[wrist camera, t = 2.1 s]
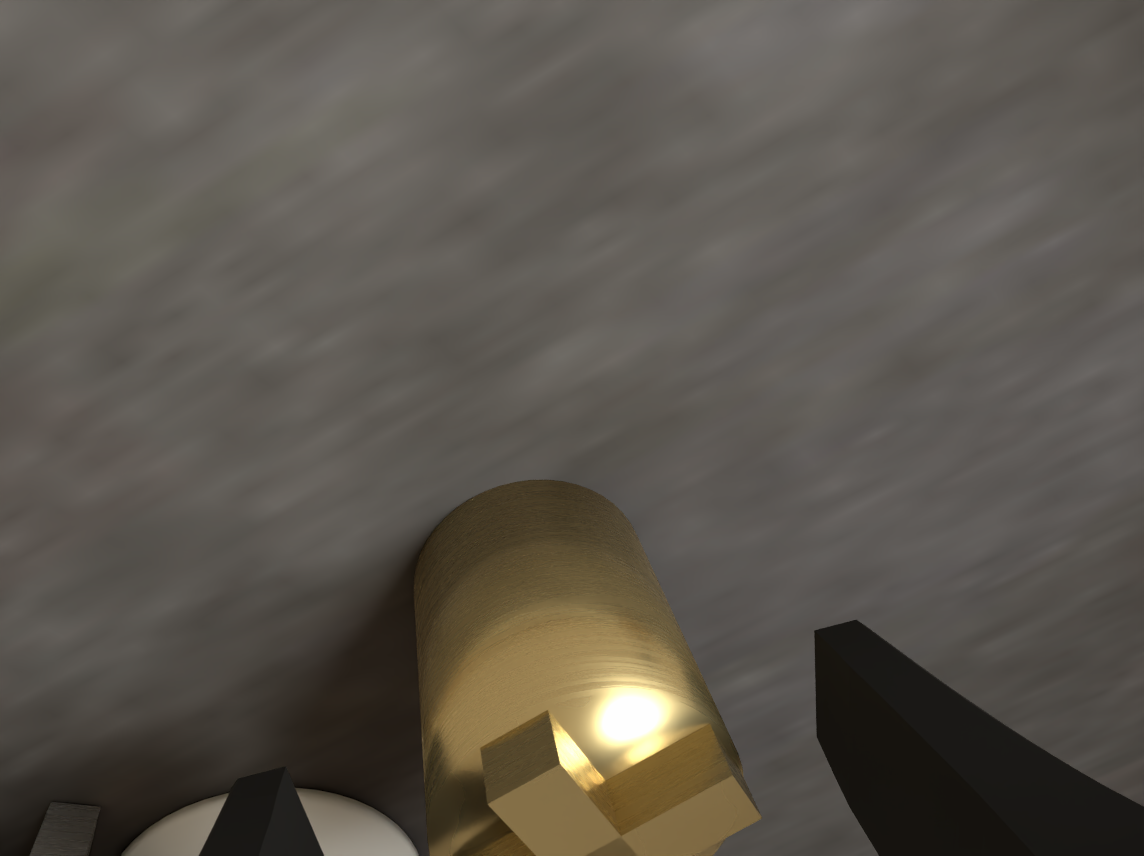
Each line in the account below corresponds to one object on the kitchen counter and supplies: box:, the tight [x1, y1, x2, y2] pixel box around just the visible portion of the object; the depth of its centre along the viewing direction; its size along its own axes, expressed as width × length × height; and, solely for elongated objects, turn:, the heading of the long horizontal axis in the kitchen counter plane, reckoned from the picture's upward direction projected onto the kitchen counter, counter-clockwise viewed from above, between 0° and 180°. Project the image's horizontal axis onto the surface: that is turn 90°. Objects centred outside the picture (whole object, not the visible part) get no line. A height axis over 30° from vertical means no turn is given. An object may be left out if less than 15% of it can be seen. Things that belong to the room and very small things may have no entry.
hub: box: [414, 480, 762, 856], centre depth 13 cm, size 4×4×6 cm
